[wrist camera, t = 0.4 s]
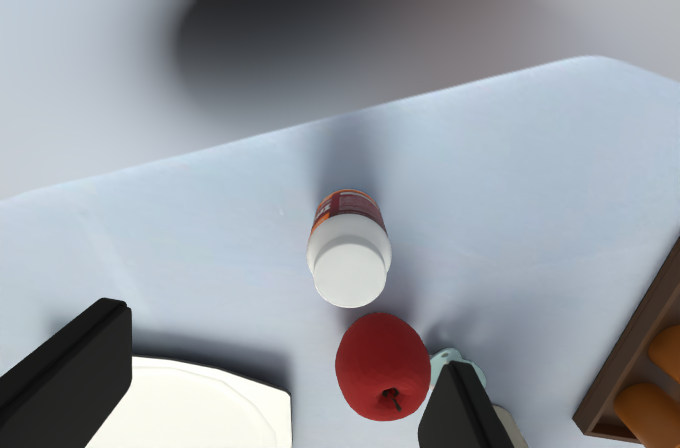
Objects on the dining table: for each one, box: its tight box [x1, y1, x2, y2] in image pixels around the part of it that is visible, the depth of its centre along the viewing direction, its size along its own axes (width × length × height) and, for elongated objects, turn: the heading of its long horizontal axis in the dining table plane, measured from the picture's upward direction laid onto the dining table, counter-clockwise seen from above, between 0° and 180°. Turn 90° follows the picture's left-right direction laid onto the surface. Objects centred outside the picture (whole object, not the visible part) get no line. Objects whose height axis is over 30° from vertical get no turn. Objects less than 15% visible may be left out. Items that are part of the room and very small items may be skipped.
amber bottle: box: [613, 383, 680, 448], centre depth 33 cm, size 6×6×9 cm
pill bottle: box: [307, 189, 392, 308], centre depth 26 cm, size 6×6×11 cm
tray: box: [572, 237, 680, 444], centre depth 34 cm, size 25×11×2 cm, turn 169°
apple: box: [335, 312, 431, 421], centre depth 31 cm, size 9×9×10 cm
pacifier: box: [429, 348, 486, 390], centre depth 34 cm, size 7×6×6 cm
